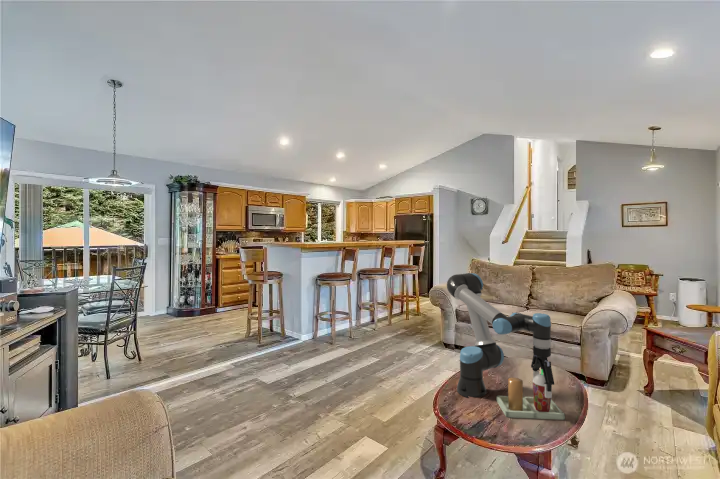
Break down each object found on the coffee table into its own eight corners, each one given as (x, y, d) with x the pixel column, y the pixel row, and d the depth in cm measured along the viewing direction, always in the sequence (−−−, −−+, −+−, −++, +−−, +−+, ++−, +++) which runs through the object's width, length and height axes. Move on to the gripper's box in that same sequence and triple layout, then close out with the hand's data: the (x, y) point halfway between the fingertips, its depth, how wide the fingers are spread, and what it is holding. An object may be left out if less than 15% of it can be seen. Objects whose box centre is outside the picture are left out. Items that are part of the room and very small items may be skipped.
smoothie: (556, 412, 159) (556, 370, 159) (543, 416, 156) (543, 373, 156) (540, 404, 167) (540, 364, 167) (528, 407, 164) (528, 367, 163)
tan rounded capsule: (510, 412, 160) (510, 383, 160) (506, 405, 167) (506, 377, 166) (524, 412, 159) (524, 383, 159) (520, 405, 166) (519, 377, 166)
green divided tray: (506, 419, 156) (506, 411, 156) (496, 402, 171) (496, 395, 171) (564, 421, 153) (564, 414, 153) (549, 404, 169) (549, 397, 168)
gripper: (562, 356, 148) (563, 404, 149) (539, 338, 173) (539, 379, 173) (544, 355, 149) (545, 403, 149) (523, 338, 174) (524, 379, 174)
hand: (542, 390), depth 161 cm, fingers open, 13 cm apart
